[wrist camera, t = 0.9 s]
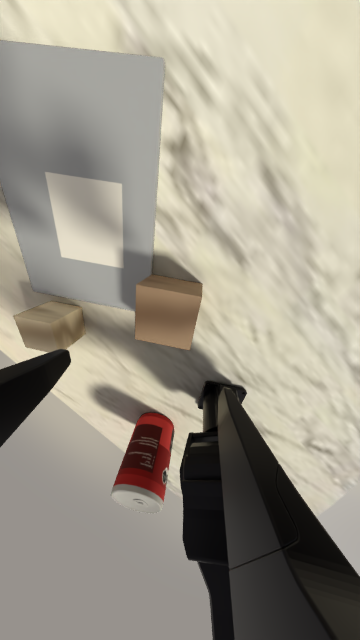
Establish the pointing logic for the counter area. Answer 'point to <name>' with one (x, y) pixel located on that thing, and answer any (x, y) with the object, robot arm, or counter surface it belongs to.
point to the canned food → (145, 465)
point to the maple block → (51, 326)
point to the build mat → (81, 167)
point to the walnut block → (167, 310)
